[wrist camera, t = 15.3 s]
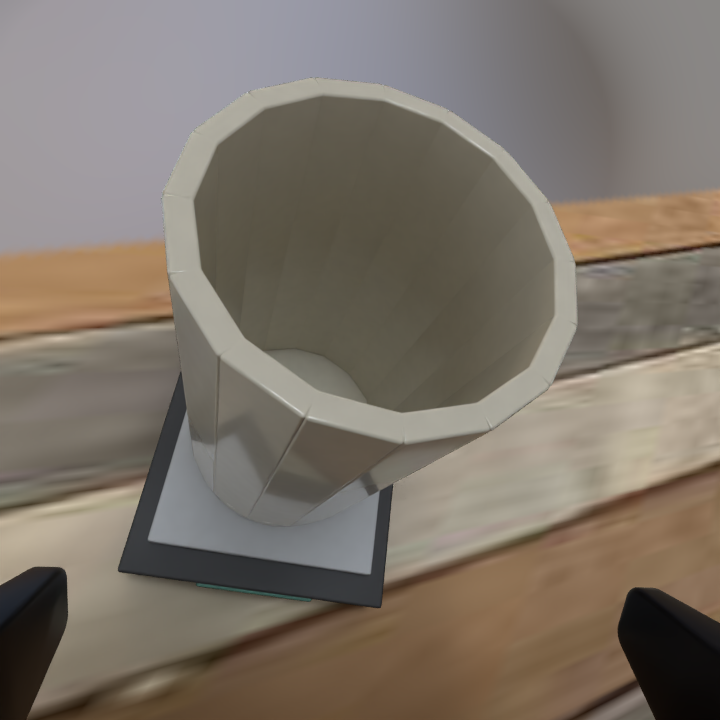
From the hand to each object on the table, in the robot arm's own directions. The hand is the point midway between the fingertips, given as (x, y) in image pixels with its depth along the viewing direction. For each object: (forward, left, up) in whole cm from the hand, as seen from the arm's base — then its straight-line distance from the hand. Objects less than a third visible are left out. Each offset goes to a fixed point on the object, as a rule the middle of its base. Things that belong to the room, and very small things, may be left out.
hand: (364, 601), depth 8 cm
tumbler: (+4, +4, -10) cm, 11 cm away
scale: (+4, +4, -12) cm, 13 cm away
